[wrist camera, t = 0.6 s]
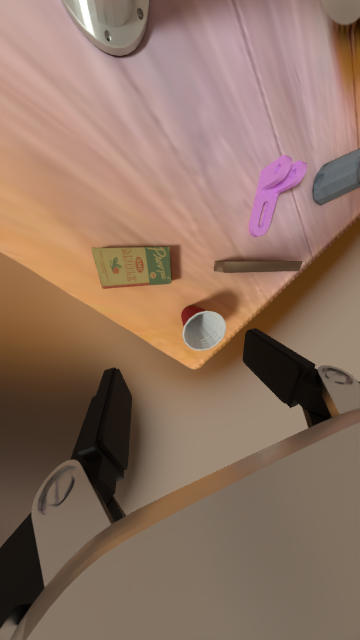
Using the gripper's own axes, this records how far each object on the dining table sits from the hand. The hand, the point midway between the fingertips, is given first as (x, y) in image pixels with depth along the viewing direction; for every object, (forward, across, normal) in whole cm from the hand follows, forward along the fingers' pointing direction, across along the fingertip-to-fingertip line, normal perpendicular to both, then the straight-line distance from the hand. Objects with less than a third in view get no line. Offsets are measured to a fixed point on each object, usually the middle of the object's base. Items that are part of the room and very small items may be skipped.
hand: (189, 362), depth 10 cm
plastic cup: (+30, -9, +10) cm, 33 cm away
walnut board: (+30, -30, -1) cm, 42 cm away
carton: (+30, +3, -5) cm, 31 cm away
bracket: (+30, -32, -15) cm, 46 cm away
